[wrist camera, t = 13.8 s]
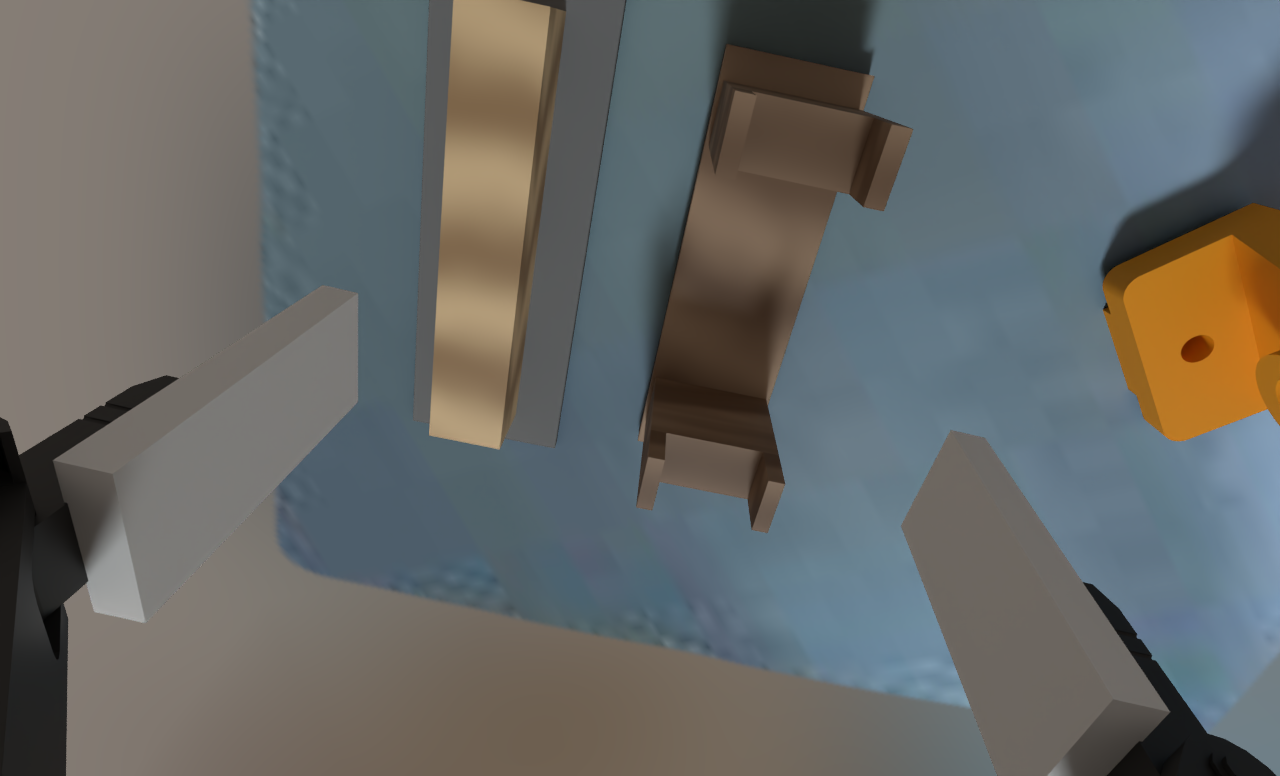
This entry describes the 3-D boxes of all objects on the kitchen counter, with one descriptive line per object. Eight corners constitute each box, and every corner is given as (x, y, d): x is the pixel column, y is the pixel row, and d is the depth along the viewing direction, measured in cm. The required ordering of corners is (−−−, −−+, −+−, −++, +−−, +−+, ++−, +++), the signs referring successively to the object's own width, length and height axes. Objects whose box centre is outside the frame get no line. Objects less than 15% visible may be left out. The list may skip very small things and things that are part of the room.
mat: (436, -71, 30) (432, -73, 30) (630, -28, 30) (629, -29, 30) (416, 415, 42) (413, 420, 42) (556, 443, 42) (554, 448, 42)
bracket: (726, 44, 32) (740, 43, 23) (869, 75, 32) (935, 85, 23) (639, 432, 42) (626, 530, 33) (747, 454, 42) (763, 556, 33)
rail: (481, -8, 31) (454, -15, 27) (566, 11, 31) (550, 7, 27) (451, 401, 41) (429, 435, 37) (515, 414, 41) (499, 449, 37)
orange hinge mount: (1089, 269, 35) (1263, 365, 25) (1240, 199, 33) (1500, 271, 23) (1138, 422, 39) (1307, 562, 29) (1276, 368, 37) (1513, 497, 27)
